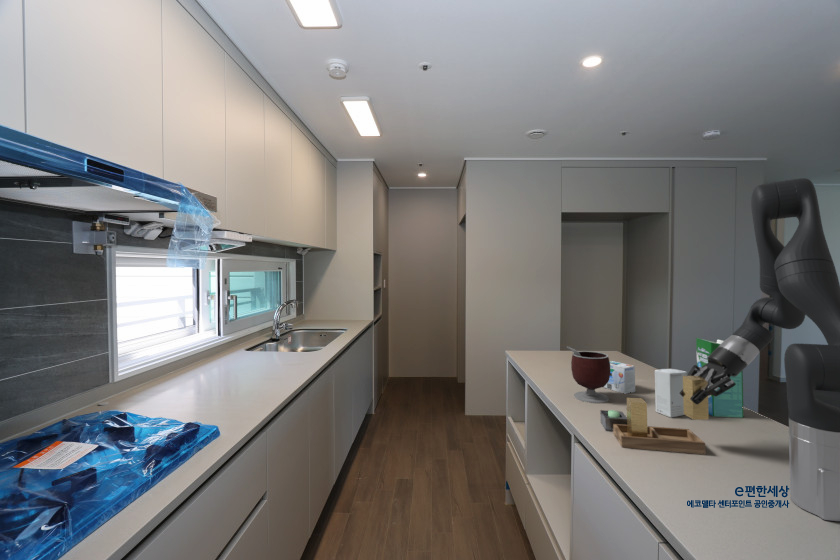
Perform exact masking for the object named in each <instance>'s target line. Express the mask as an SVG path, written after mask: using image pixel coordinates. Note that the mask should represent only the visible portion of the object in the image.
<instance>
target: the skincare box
mask: <svg viewBox="0 0 840 560" xmlns="http://www.w3.org/2000/svg"><path fill="white" fill-rule="evenodd" d="M687 375H688V372H687V371H684V370H680V369H676V368H661V369H655V370H654V396H655V397H654V398H655V399H654V400H655V403H654V404H655V412H656V413H658V414H661V415H663V416H666V417H669V418H675V417H681V416H686V415H685V414H684V405H683V397H682V396H681V395H680V392H681V390H682V389H683V376H687Z"/></svg>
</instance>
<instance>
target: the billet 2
mask: <svg viewBox="0 0 840 560" xmlns="http://www.w3.org/2000/svg"><path fill="white" fill-rule="evenodd" d="M704 384H705V379H704V378H702V377H699V376H683V405H684V414H685V415H684V416H686V417H688V418H690V419H691V420H693V421H694V420H698V421H700V420H701V421H702V420H703V421H705V420H707V421H708V420H709V419H710V418H709V417H710V414H708V396H707V397H706V398H705V399H704V400H703V401H702V402H700V403H699V404H695V403H694V402H693V401H691V400H690V398H691V397H692V396H693V395H694V394H695V393H696V392H697V391H698V390H699V389H700V390H701V387H702V386H703V385H704Z"/></svg>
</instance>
